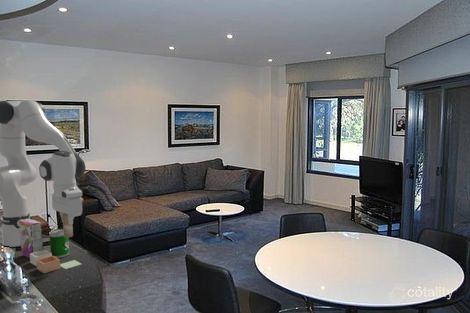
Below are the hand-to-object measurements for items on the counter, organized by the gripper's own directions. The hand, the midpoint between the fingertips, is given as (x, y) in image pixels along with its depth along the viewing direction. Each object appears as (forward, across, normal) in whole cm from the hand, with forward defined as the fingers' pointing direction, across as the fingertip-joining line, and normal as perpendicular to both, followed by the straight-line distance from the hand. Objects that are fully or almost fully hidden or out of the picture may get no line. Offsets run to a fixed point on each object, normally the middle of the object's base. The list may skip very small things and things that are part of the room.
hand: (67, 223), depth 169 cm
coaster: (+18, 0, 0) cm, 18 cm away
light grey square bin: (+18, -12, -7) cm, 23 cm away
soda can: (+18, -14, +2) cm, 23 cm away
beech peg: (+6, 0, 0) cm, 6 cm away
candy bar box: (+18, -24, -6) cm, 31 cm away
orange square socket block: (+18, -2, -8) cm, 20 cm away
